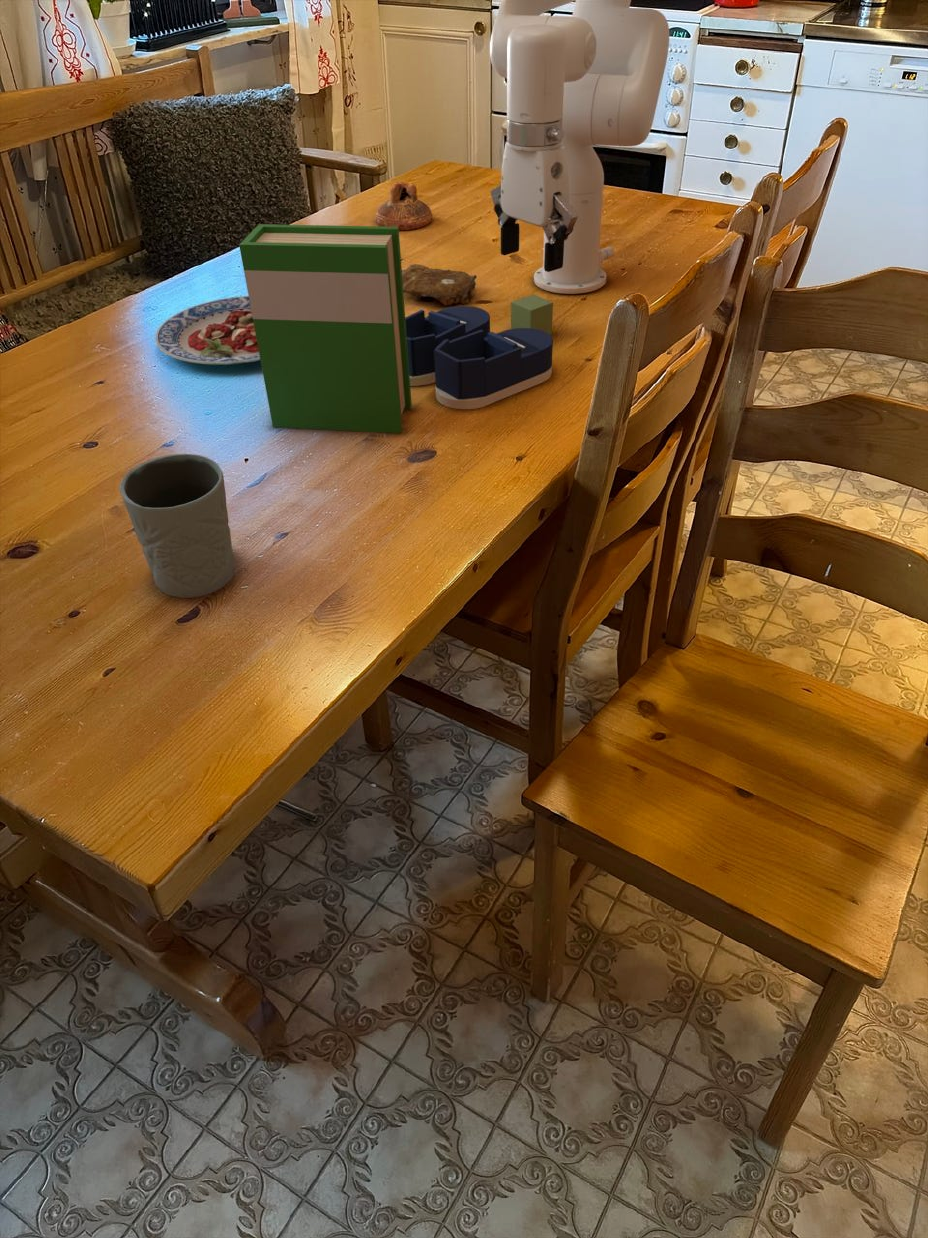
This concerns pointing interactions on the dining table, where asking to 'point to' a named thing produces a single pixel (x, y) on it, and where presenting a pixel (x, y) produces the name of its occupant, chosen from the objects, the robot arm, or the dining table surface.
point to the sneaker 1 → (438, 336)
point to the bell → (403, 208)
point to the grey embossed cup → (181, 522)
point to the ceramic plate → (211, 333)
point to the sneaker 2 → (491, 366)
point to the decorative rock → (438, 284)
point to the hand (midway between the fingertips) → (531, 260)
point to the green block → (532, 313)
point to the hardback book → (330, 325)
